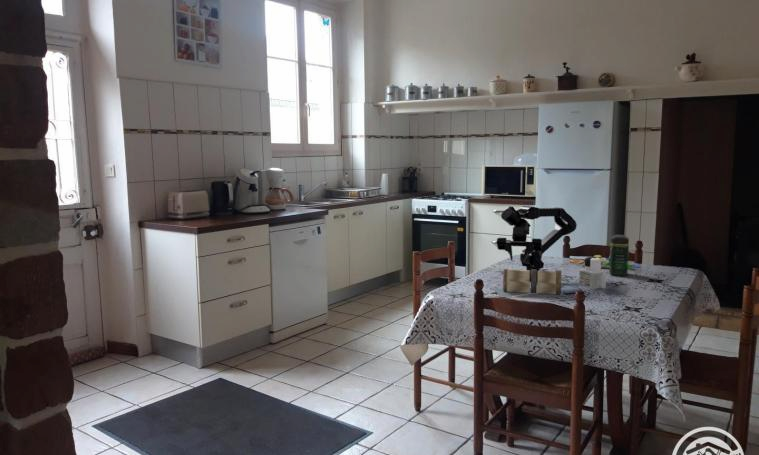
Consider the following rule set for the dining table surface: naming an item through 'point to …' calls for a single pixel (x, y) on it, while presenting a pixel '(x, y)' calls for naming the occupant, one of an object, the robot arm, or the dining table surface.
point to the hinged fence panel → (519, 280)
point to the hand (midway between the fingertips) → (517, 260)
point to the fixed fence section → (549, 282)
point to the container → (592, 274)
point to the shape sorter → (604, 263)
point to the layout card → (523, 294)
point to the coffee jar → (619, 255)
